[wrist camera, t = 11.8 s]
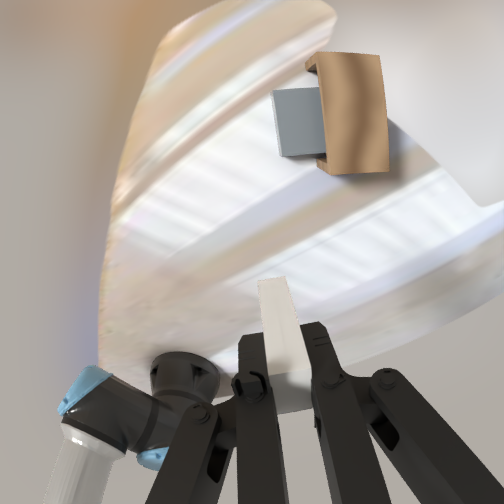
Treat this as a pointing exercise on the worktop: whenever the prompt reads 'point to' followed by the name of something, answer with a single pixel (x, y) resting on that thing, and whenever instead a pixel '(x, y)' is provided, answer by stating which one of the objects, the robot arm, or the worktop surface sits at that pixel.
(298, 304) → the worktop surface
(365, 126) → the tan wooden channel
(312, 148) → the tile
